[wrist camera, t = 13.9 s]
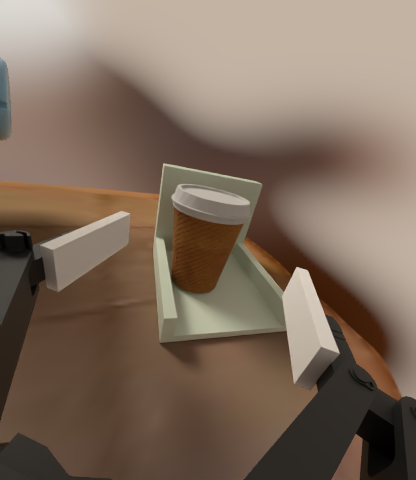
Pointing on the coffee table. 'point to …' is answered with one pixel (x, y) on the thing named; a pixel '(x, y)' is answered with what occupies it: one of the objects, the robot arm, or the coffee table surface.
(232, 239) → the disposable coffee cup
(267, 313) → the pale green l-shaped stand
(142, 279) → the coffee table surface
